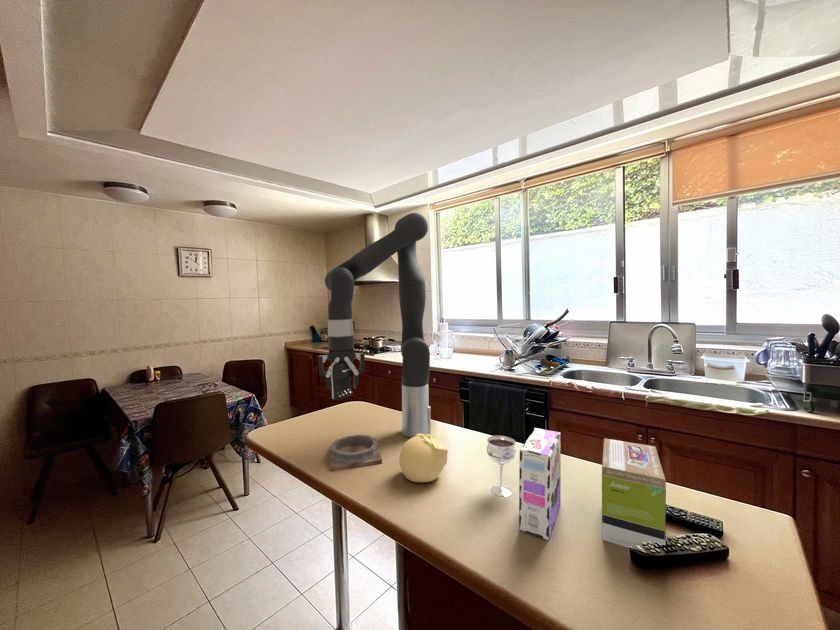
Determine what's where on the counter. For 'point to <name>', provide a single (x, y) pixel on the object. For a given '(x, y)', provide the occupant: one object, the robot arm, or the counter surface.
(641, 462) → the tea box
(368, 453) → the ring collar
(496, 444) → the wineglass
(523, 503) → the candy box
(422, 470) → the sculpture
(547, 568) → the counter surface
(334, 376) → the battery charger
